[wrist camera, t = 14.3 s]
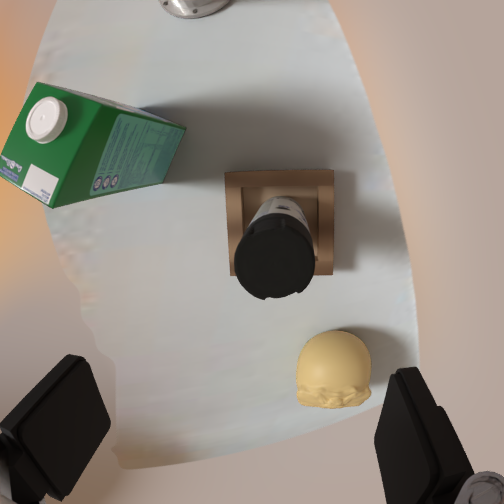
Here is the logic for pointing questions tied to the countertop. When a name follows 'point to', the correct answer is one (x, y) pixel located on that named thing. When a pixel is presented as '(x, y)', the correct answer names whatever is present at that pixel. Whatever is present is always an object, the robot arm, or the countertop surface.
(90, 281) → the countertop surface
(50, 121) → the milk carton
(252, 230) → the spray can
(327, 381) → the sculpture
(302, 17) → the countertop surface
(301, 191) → the socket block
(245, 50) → the countertop surface
